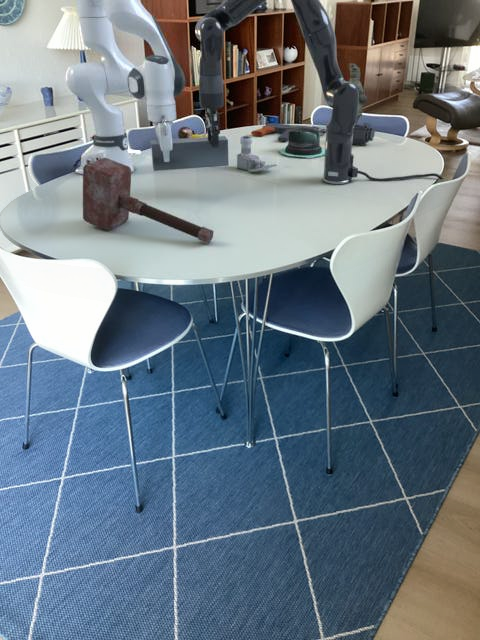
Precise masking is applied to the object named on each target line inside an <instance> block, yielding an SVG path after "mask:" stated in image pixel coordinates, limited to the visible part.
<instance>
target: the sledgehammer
mask: <svg viewBox="0 0 480 640" xmlns="http://www.w3.org/2000/svg"><path fill="white" fill-rule="evenodd" d="M131 186H132V172H131V169H130V167H129V166H126V165H123V164H121V163H118V162H116V161H113V160H111V159H108V158H102V159H100V160H97V161H94V162H92V163H89V164H86V165H85V166H84V167H83V174H82V219H83V220H84V222H86V223H88V224H91V225H93V226H95V227H97V228H100V229H102V230H105V231H106V232H109V231H112V230H113V229H115V228H117V227H120V226H121V225H123V224H125V223H127V222H128V221H129V216H130V213H131V214H136V215H138V216H141V217H145V218H148V219H150V220H152V221H155V222H156V223H160V224H161V225H164V226H167V227H169V228H172V229H174V230H177V231H179V232H182V233H184V234H186V235H189V236H191V237H194V238H196V239H197V240H198V241H200V242H203V243H206V244H210V243H211V242H212V240H213V238H214V230H213V229H210V228H208V227H206V226H200V225H198V224H195V223H193V222H190V221H187V220H185V219H183V218H181V217H178V216H176V215H173V214H171V213H168V212H166V211H163V210H161V209H159V208H156V207H153V206H152V205H149V204H147V203H146V202H143V201H141V200H139V199H138V198H135V197H133V196H131V190H132V189H131V188H132V187H131Z"/></svg>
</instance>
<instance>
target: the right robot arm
mask: <svg viewBox="0 0 480 640" xmlns="http://www.w3.org/2000/svg"><path fill="white" fill-rule="evenodd" d="M266 1H267V0H224V1H223V2H222V3H221V4H219V6H217V7H215V8H213V9H212V10H210V11H209V12H207V13H206V14H204V16H202V17H201V18H200V19H199V20H198V21H197V23H196V25H195V30H194V33H195V36H196V38H197V39H198V41H200V55H199V57H198V76H199V77H198V93H199V97H198V98H199V106H200V108H201V109H202V108H203V109H204V111H205V113H204V117H205V127H206V130H208V133H207V137H211V140H212V147H213V148H214V147H219V136H220V134H221V124H220V123H221V122H220V113H219V112H218V109H220V108H223V107H224V106H225V99H224V93H225V92H224V78H223V61H222V56H223V48H224V32H226V31H227V30H228V29H230V28H232V27H234V26H235V27H236V26H237V25H239V24H240V23H241V22H242V21H243V20H245V19H247V17H248V16H250V15H251V14H252V13H253V12H255V11H256V10H257V9H258V8H259V7H260V6H261V5H263V4H264V3H265V2H266ZM290 3H291V4H292V8H293V11H294V14H295V17H296V19H297V23H298V25H299V28H300V31H301V34H302V37H303V39H304V42H305V44H306V48H307V50H308V52H309V55H310V57H311V60H312V62H313V65H314V67H315V69H316V73H317V74H318V78H319V82H320V85H321V86H320V87H321V91H322V94H323V97H324V101H325V102H326V104H327V106H328V107H330V108H332V111H331V112H332V113H331V119H330V120H329V121H328V122H327V123H326V128H325V131H326V133H325V145H324V149H325V155H324V163H323V175H322V182H324V183H326V184H330V185H345V184H348V183H351V182H352V181H353V179H354V178H358V174H359V175H363V176H364V177H366V178H367V179H368V180H370V181H374V182H388V181H398V180H399V181H400V180H401V181H402V180H408V179H414V178H415V179H416V178H428V177H436V178H438V179H439V180H444V178H443V176H442V175H440V174H438V173H432V172H431V173H424V174H411V175H404V176H394V177H393V176H392V177H386V178H383V177H382V178H379V177H372V176H370V175H369V174H368V173H367V172H365V171H362V170H359V168H358V167H356V166H354V159H355V158H354V157H355V156H354V154H353V153H352V152H353V144H352V140H353V129H354V125H355V123H356V120H357V113H358V104H359V92H358V89H357V87H356V86H355V85H354V84H353V83H350V82H349V81H346V80H345V78H344V76H343V74H342V71H341V69H340V66H339V63H338V59H337V58H338V57H337V37H336V33H335V31H334V27H333V23H332V21H331V19H330V15H329V14H328V12H327V11H326V9H325V7H324V5H323V4H322V2H321V0H290Z"/></svg>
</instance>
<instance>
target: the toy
mask: <svg viewBox="0 0 480 640" xmlns="http://www.w3.org/2000/svg"><path fill="white" fill-rule="evenodd" d="M357 124H358V123H357ZM357 124H355V125H354V129H353V140H352V145H358V146H359V145H360V146H366V144H367V143H369V142H373V140H374V138H375V133H376V129H375V127H374V126H372V123H370V122H363V124H358V125H357Z"/></svg>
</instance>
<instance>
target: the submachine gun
mask: <svg viewBox="0 0 480 640" xmlns="http://www.w3.org/2000/svg"><path fill="white" fill-rule="evenodd" d="M298 128H311V129H316V130H318V131H319V132H320V137H323V136H324V135H326V128H322V129H320V127H319V126H309V125H298V124H288V123H286V124H285V123H273V122H269V123H265V125H262V127H261V128H258V129H254V130H252V131H251V132H250V133H251V134H250V135H251V136H255V137H262V136H264V135H266V134H271V133H278V134H280V135H279V136H278V137H277V141H278V142H288V140H289V131H291V130H294V129H298Z"/></svg>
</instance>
